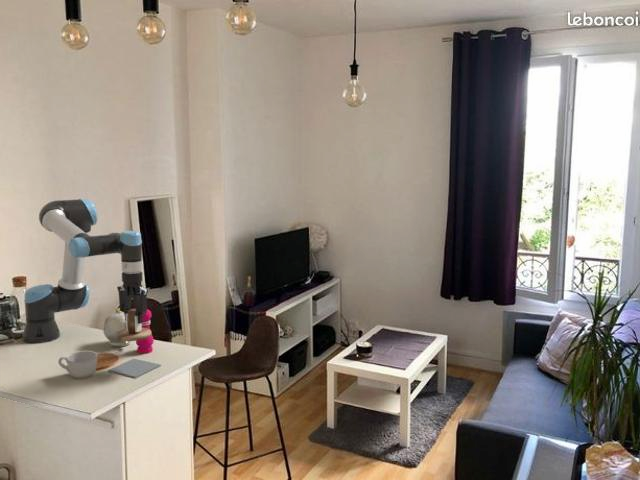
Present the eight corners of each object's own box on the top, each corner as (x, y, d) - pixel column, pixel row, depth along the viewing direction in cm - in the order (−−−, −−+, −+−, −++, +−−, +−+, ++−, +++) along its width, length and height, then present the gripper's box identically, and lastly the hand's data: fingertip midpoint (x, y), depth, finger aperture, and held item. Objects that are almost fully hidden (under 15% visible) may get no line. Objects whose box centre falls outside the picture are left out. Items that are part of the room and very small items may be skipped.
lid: (109, 337, 226) (108, 312, 224) (133, 328, 237) (132, 304, 236) (134, 343, 220) (133, 316, 218) (158, 333, 232) (157, 308, 230)
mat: (108, 371, 228) (108, 369, 228) (133, 359, 240) (133, 358, 240) (135, 378, 222) (135, 376, 222) (160, 366, 234) (160, 364, 234)
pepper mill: (132, 352, 248) (131, 306, 245) (143, 347, 255) (142, 302, 252) (146, 355, 246) (145, 309, 242) (157, 349, 252) (156, 304, 249)
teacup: (102, 370, 228) (102, 351, 227) (89, 382, 217) (88, 361, 216) (68, 368, 229) (67, 349, 228) (53, 379, 219) (52, 359, 217)
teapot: (97, 343, 258) (95, 307, 255) (125, 336, 268) (124, 302, 265) (118, 354, 246) (116, 316, 243) (146, 346, 256) (145, 310, 253)
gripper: (107, 271, 225) (110, 329, 228) (142, 275, 218) (144, 336, 221) (122, 267, 231) (124, 324, 235) (156, 272, 224) (157, 330, 228)
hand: (133, 330), depth 228 cm, fingers closed on lid, 4 cm apart
